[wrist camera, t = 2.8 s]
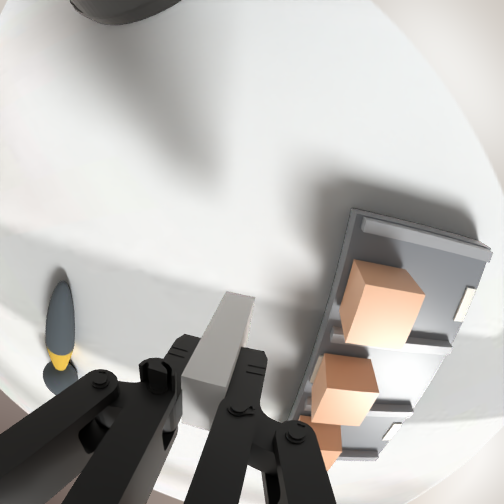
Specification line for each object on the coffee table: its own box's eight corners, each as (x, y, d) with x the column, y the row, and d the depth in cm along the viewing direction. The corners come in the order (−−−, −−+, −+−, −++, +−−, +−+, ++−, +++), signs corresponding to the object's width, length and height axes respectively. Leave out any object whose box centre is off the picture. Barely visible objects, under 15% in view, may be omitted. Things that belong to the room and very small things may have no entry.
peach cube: (324, 353, 22) (326, 388, 18) (370, 359, 21) (379, 392, 18) (311, 387, 23) (311, 422, 19) (354, 392, 23) (359, 426, 19)
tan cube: (300, 415, 25) (298, 447, 21) (340, 419, 24) (342, 451, 20) (290, 437, 26) (287, 467, 22) (327, 441, 26) (327, 471, 22)
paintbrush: (47, 264, 27) (17, 282, 22) (78, 281, 27) (48, 302, 22) (61, 379, 34) (43, 399, 29) (87, 395, 34) (70, 417, 29)
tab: (353, 259, 19) (365, 284, 15) (405, 269, 19) (425, 294, 15) (338, 310, 20) (345, 342, 17) (388, 318, 20) (402, 349, 16)
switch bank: (351, 207, 20) (359, 216, 17) (478, 240, 19) (497, 252, 16) (281, 434, 29) (279, 454, 26) (376, 442, 28) (379, 461, 25)
